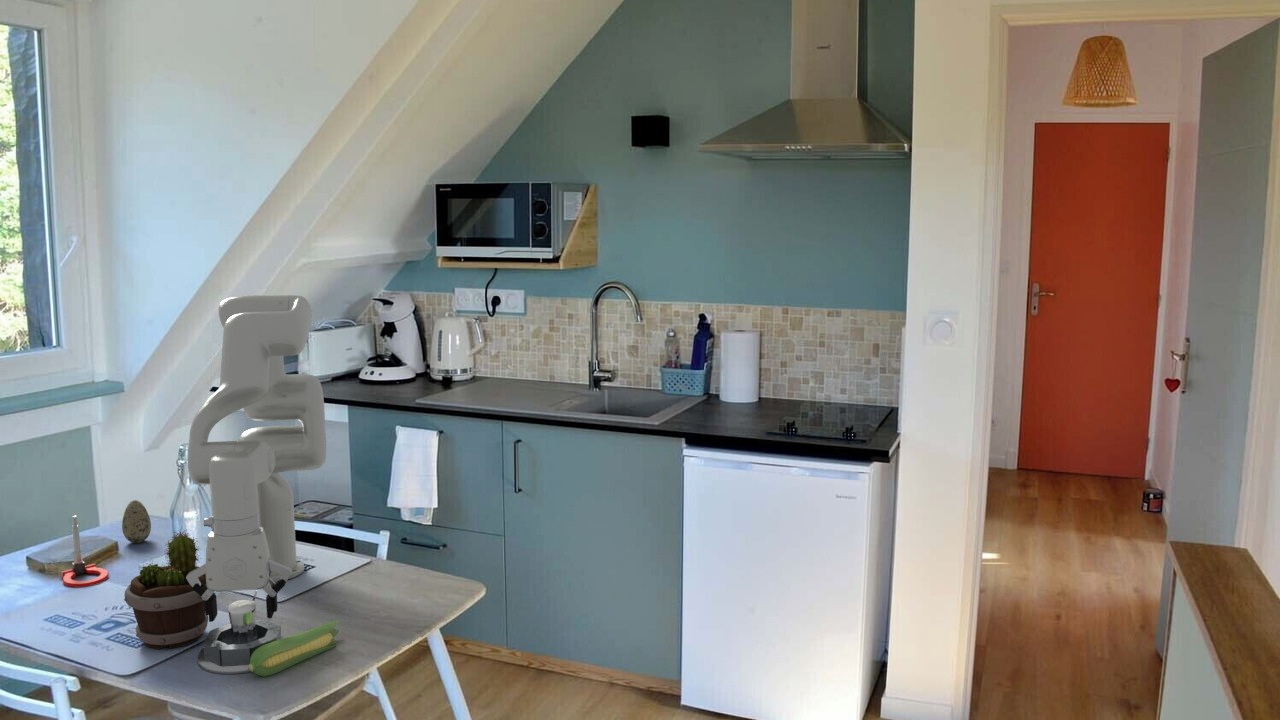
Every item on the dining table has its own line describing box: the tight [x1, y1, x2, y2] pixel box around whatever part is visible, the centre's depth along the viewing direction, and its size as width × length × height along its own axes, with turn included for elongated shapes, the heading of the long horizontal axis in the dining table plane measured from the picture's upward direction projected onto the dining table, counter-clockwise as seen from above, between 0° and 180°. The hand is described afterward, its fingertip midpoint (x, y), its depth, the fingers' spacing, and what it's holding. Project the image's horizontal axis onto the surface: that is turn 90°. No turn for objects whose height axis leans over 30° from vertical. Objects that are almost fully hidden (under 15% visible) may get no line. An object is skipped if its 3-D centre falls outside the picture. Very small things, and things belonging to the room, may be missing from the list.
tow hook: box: [60, 515, 110, 588], centre depth 218 cm, size 8×13×9 cm
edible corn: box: [249, 620, 340, 678], centre depth 183 cm, size 5×20×5 cm
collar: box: [197, 619, 285, 675], centre depth 185 cm, size 15×15×4 cm
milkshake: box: [227, 590, 258, 644], centre depth 184 cm, size 4×5×10 cm
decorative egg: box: [121, 499, 152, 544], centre depth 241 cm, size 6×6×10 cm
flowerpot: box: [123, 526, 209, 650], centre depth 190 cm, size 14×15×20 cm
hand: (242, 616), depth 184 cm, fingers open, 9 cm apart
